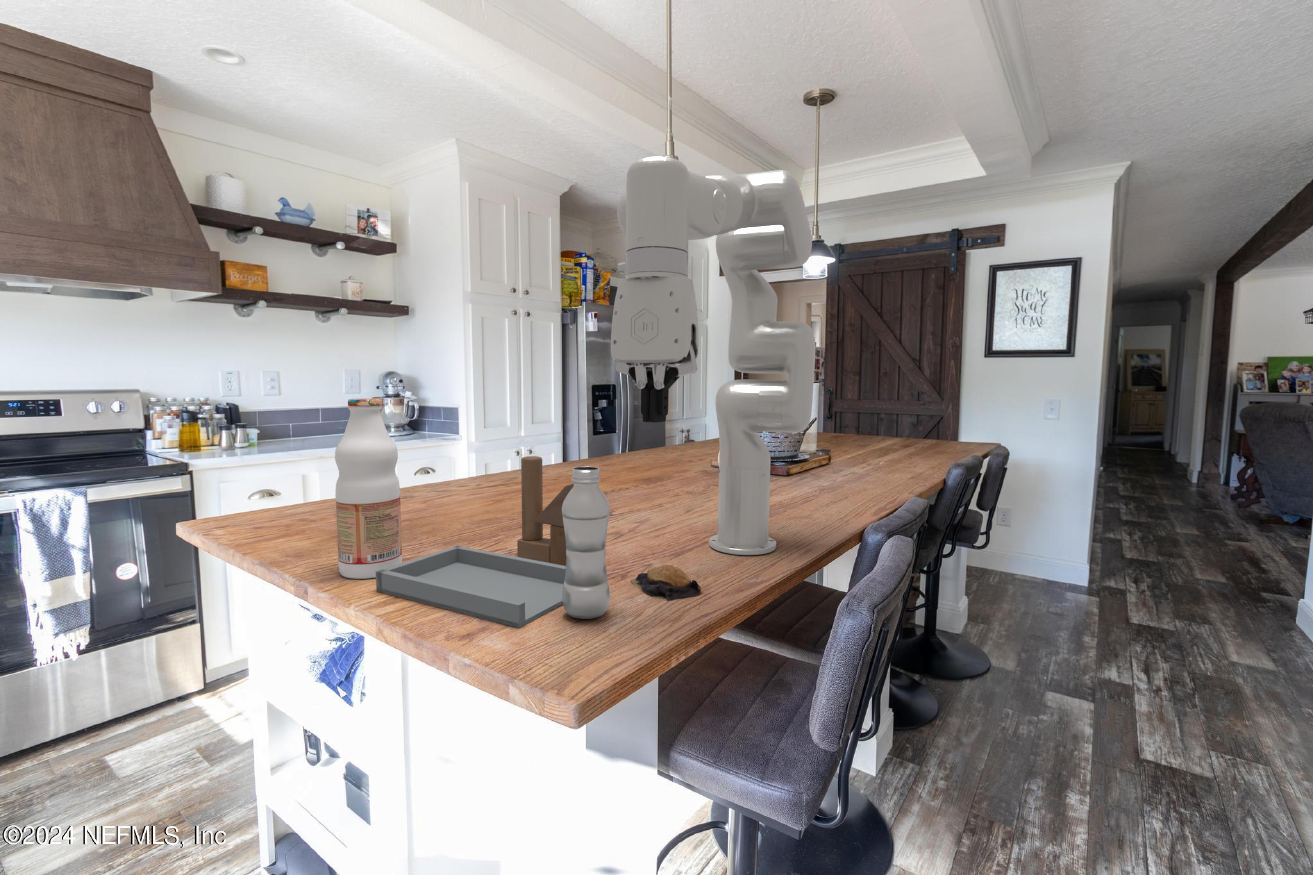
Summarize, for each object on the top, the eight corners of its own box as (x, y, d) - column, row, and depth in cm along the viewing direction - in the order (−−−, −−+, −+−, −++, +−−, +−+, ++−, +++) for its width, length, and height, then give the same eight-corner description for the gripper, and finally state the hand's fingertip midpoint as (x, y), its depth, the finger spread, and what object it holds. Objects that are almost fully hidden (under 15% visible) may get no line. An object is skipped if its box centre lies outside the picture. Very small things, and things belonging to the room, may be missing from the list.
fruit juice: (326, 579, 95) (318, 399, 93) (356, 561, 105) (350, 397, 102) (386, 580, 95) (380, 400, 92) (411, 562, 105) (406, 398, 102)
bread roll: (626, 585, 96) (625, 562, 96) (671, 576, 101) (671, 554, 100) (661, 607, 87) (661, 582, 87) (709, 596, 91) (709, 572, 91)
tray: (457, 562, 105) (457, 545, 104) (589, 589, 92) (589, 570, 92) (376, 591, 91) (375, 571, 90) (519, 628, 78) (518, 605, 78)
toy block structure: (566, 570, 102) (566, 462, 100) (516, 560, 107) (515, 457, 105) (579, 564, 105) (579, 459, 103) (530, 554, 110) (529, 455, 108)
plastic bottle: (569, 628, 78) (569, 473, 76) (556, 609, 84) (555, 465, 82) (617, 620, 81) (618, 470, 79) (600, 603, 87) (601, 463, 85)
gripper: (587, 268, 74) (586, 420, 76) (701, 259, 67) (697, 426, 69) (619, 278, 80) (618, 417, 82) (726, 270, 74) (722, 422, 75)
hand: (654, 421), depth 75 cm, fingers closed
